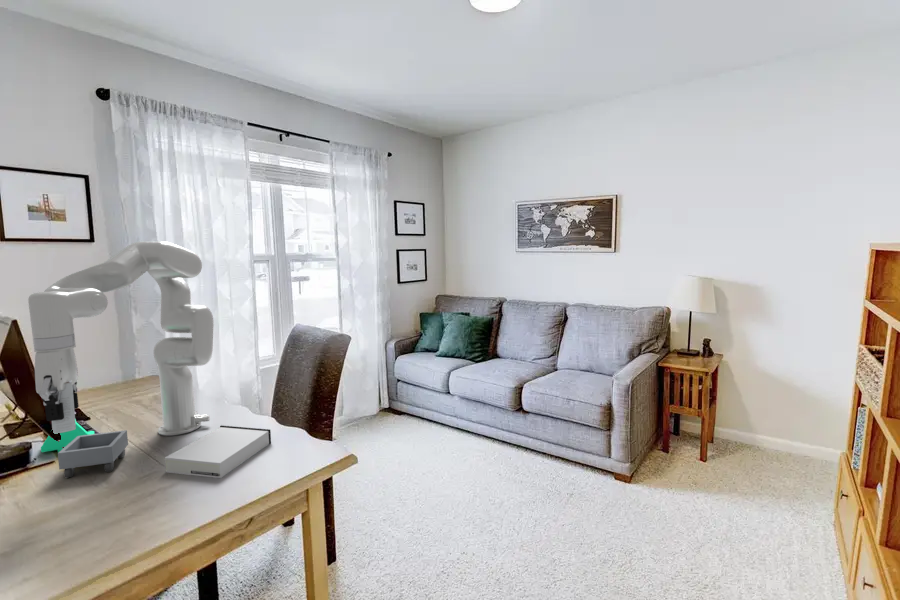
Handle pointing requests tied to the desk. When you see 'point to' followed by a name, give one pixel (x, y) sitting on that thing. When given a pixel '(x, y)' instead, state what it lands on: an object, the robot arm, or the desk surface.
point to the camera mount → (64, 439)
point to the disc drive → (218, 451)
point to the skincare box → (65, 410)
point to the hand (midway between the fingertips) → (63, 413)
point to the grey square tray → (93, 451)
